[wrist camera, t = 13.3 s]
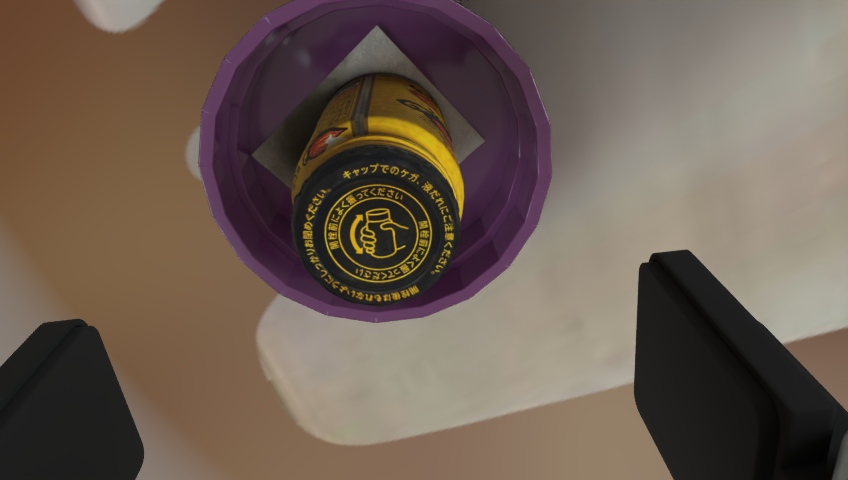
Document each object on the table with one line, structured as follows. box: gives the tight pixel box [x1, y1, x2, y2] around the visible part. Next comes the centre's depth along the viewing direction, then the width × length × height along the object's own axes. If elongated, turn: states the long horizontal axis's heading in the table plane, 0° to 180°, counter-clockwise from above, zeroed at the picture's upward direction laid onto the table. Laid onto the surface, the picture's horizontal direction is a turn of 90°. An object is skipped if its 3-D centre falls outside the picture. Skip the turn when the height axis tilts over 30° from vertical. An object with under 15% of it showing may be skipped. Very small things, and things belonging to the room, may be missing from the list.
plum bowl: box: [198, 0, 552, 323], centre depth 28 cm, size 14×14×5 cm
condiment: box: [251, 26, 485, 307], centre depth 24 cm, size 7×8×12 cm
